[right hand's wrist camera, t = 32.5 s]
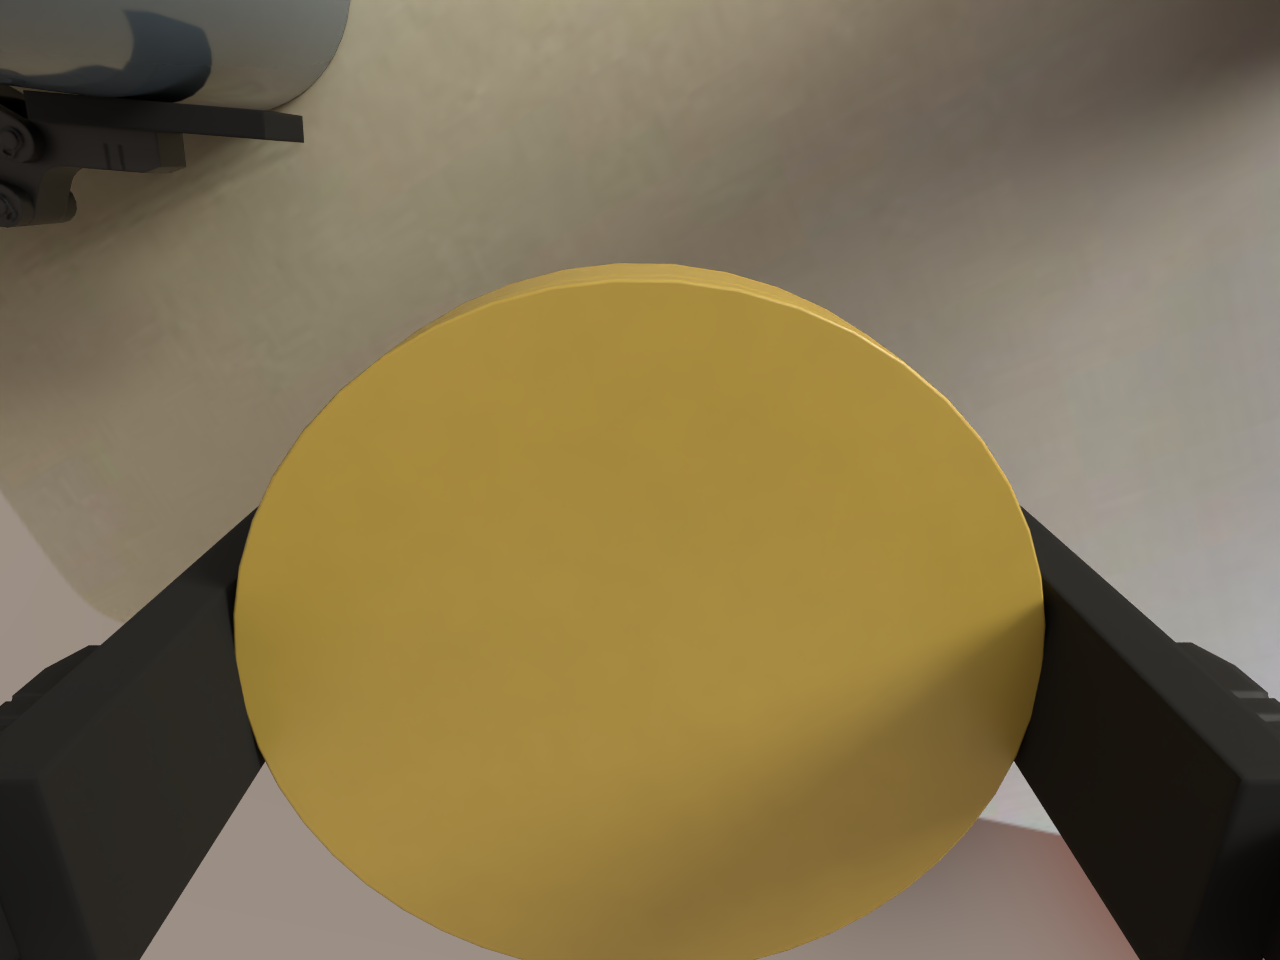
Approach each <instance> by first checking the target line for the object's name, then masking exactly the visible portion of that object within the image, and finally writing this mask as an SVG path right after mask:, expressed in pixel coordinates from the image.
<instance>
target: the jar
mask: <svg viewBox="0 0 1280 960" xmlns="http://www.w3.org/2000/svg"><path fill="white" fill-rule="evenodd" d="M349 4H350V0H0V84H2V85H10V86H18V87H25V88H33V89H41V90H48V91H56V92H64V93H71V94H79V95H87V96H97V97H110V98H122V99H134V100H146V101H158V102H170V103H182V104H194V105H206V106H218V107H230V108H243V109H255V110H269V109H273V108H275V107H278V106H280V105H282V104H285V103H287V102H289V101H290V100H292V99H294V98H295V97H297V96H298V95H300V94H302V93H303V92H304V91H305V90H306V89H307V88H309V87H310V86H311V85H312V84H313V83H314V82H315V81H316V80H317V79H318V77H319V76H320V75H321V74H322V73H323V72H324V70H325V69H326V67H327V66H328V64H329V63H330V61H331V59H332V58H333V56H334V55H335V52H336V50H337V48H338V45H339V43H340V41H341V39H342V35H343V32H344V29H345V25H346V22H347V17H348V10H349Z"/></svg>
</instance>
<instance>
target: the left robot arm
mask: <svg viewBox="0 0 1280 960" xmlns="http://www.w3.org/2000/svg"><path fill="white" fill-rule="evenodd" d="M23 92H24V94H22V93H21V92H19V91H17V90H15V89H14V88H12V87H10V86H9V85H2V84H0V226H1V227H18V226H29V225H40V224H51V223H62V222H66V221H69V220H71V219H72V218H73V217H74V216H75V213H76V210H77V206H76V200H75V198H74V196H73V194H72V193H71V192H70V188H71V182H72V179H73V177H74V175H75V174H76V172H77V171H79V170H80V169H81V168H92V169H104V170H117V171H129V172H141V173H167V172H173V171H176V170H179V169H181V168H184V167H186V162H185V154H184V145H183V136H182V133H189V134H201V135H214V136H226V137H238V138H250V139H262V140H275V141H288V142H302V143H304V136H303V121H302V116H298V115H291V114H285V113H278V112H272V111H265V110H255V109H243V108H230V107H218V106H206V105H194V104H182V103H170V102H158V101H146V100H134V99H122V98H110V97H97V96H86V95H74V94H61V93H49V92H37V91H25V90H23Z"/></svg>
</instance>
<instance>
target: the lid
mask: <svg viewBox="0 0 1280 960" xmlns="http://www.w3.org/2000/svg"><path fill="white" fill-rule="evenodd" d="M233 619H234V646H235V657H236V662H237V667H238V672H239V677H240V682H241V687H242V692H243V697H244V702H245V706H246V711H247V715H248V719H249V722H250V725H251V728H252V731H253V734H254V737H255V740H256V742H257V745H258V748H259V750H260V752H261V754H262V756H263V758H264V760H265V761H266V763H267V765H268V767H269V769H270V771H271V773H272V775H273V777H274V779H275V781H276V783H277V785H278V787H279V788H280V790H281V791H282V792H283V794H284V795H285V797H286V798H287V800H288V801H289V802H290V804H291V805H292V807H293V808H294V810H295V811H296V812H297V814H298V815H299V817H300V818H301V820H302V821H303V822H304V824H305V825H306V826H307V827H308V828H309V829H310V830H311V831H312V833H313V834H314V835H315V836H316V837H317V838H318V839H319V840H320V841H321V843H322V844H323V845H324V846H325V847H326V848H327V849H328V850H329V851H330V852H331V854H332V855H333V856H334V857H336V858H337V859H338V860H339V861H340V862H341V863H342V864H344V865H345V866H346V867H347V868H348V869H349V870H350V871H352V872H353V873H354V874H355V875H356V876H357V877H358V878H360V879H361V880H362V881H363V882H364V883H365V884H367V885H368V886H369V887H371V888H372V889H374V890H375V891H377V892H378V893H380V894H381V895H382V896H384V897H385V898H387V899H388V900H390V901H391V902H393V903H394V904H395V905H397V906H398V907H400V908H401V909H403V910H405V911H406V912H408V913H410V914H412V915H414V916H416V917H417V918H419V919H421V920H423V921H425V922H427V923H428V924H430V925H432V926H434V927H436V928H438V929H440V930H441V931H444V932H446V933H449V934H451V935H453V936H456V937H458V938H461V939H463V940H465V941H468V942H470V943H473V944H475V945H477V946H480V947H482V948H485V949H489V950H492V951H495V952H499V953H502V954H505V955H509V956H512V957H515V958H519V959H522V960H756V959H759V958H763V957H766V956H770V955H773V954H777V953H780V952H784V951H787V950H790V949H793V948H795V947H798V946H800V945H803V944H805V943H808V942H810V941H813V940H815V939H818V938H821V937H823V936H825V935H828V934H830V933H832V932H834V931H836V930H838V929H840V928H842V927H844V926H846V925H848V924H850V923H852V922H854V921H855V920H857V919H859V918H861V917H863V916H865V915H867V914H869V913H870V912H872V911H873V910H875V909H876V908H878V907H879V906H881V905H882V904H884V903H886V902H887V901H889V900H890V899H892V898H893V897H895V896H896V895H898V894H899V893H901V892H902V891H904V890H905V889H906V888H908V887H909V886H910V885H911V884H912V883H914V882H915V881H916V880H917V879H918V878H920V877H921V876H922V875H923V874H924V873H926V872H927V871H928V870H929V869H930V868H932V867H933V866H934V865H935V864H936V863H938V862H939V861H940V860H941V859H942V858H943V857H944V856H945V854H946V853H947V852H948V851H949V850H950V849H951V848H952V847H953V846H954V845H955V844H956V843H957V842H958V841H959V840H960V839H961V838H962V837H963V836H964V834H965V833H966V832H967V831H968V830H969V829H970V828H971V826H972V825H973V824H974V822H975V821H976V820H977V818H978V817H979V816H980V814H981V813H982V811H983V810H984V809H985V807H986V806H987V805H988V803H989V802H990V801H991V799H992V798H993V797H994V795H995V794H996V792H997V790H998V788H999V786H1000V785H1001V783H1002V781H1003V779H1004V777H1005V776H1006V774H1007V772H1008V770H1009V768H1010V767H1011V765H1012V763H1013V761H1014V759H1015V757H1016V756H1017V753H1018V750H1019V748H1020V745H1021V743H1022V740H1023V737H1024V735H1025V732H1026V730H1027V727H1028V724H1029V722H1030V719H1031V715H1032V710H1033V705H1034V701H1035V696H1036V691H1037V686H1038V682H1039V677H1040V672H1041V667H1042V661H1043V652H1044V638H1045V614H1044V602H1043V590H1042V578H1041V573H1040V569H1039V565H1038V561H1037V557H1036V553H1035V549H1034V545H1033V541H1032V537H1031V533H1030V529H1029V527H1028V525H1027V522H1026V520H1025V518H1024V515H1023V513H1022V510H1021V508H1020V506H1019V503H1018V501H1017V499H1016V496H1015V494H1014V492H1013V489H1012V487H1011V484H1010V483H1009V481H1008V479H1007V478H1006V476H1005V475H1004V473H1003V471H1002V470H1001V468H1000V467H999V465H998V463H997V462H996V460H995V459H994V457H993V455H992V454H991V452H990V451H989V449H988V447H987V446H986V444H985V443H984V441H983V440H982V438H981V437H980V436H979V435H978V434H977V433H976V431H975V430H974V429H973V428H972V427H971V426H970V424H969V423H968V422H967V421H966V420H965V419H964V417H963V416H962V415H961V414H960V413H959V412H958V411H957V409H956V408H955V407H954V406H953V405H952V404H951V402H950V401H949V400H948V399H947V398H946V397H945V396H944V395H942V394H941V393H940V392H939V391H938V390H937V389H935V388H934V387H933V386H932V385H931V384H930V383H928V382H927V381H926V380H925V379H924V378H923V377H921V376H920V375H919V374H918V373H917V372H916V371H914V370H913V369H912V368H911V367H910V366H909V365H907V364H906V363H905V362H904V361H902V360H901V359H900V358H898V357H897V356H895V355H894V354H893V353H891V352H890V351H889V350H887V349H886V348H885V347H883V346H882V345H880V344H879V343H878V342H876V341H875V340H873V339H872V338H871V337H869V336H868V335H866V334H865V333H863V332H862V331H860V330H858V329H857V328H855V327H854V326H852V325H850V324H849V323H847V322H846V321H844V320H843V319H841V318H839V317H838V316H836V315H835V314H833V313H832V312H830V311H828V310H827V309H825V308H823V307H821V306H818V305H816V304H814V303H812V302H809V301H807V300H805V299H803V298H801V297H798V296H796V295H794V294H792V293H790V292H787V291H785V290H783V289H781V288H778V287H775V286H772V285H769V284H765V283H762V282H758V281H755V280H752V279H748V278H745V277H741V276H738V275H735V274H731V273H728V272H722V271H716V270H709V269H702V268H696V267H689V266H683V265H676V264H639V263H615V264H607V265H599V266H591V267H582V268H574V269H566V270H561V271H557V272H553V273H550V274H546V275H542V276H538V277H534V278H530V279H527V280H523V281H519V282H515V283H512V284H509V285H507V286H504V287H502V288H499V289H497V290H495V291H492V292H490V293H487V294H485V295H483V296H480V297H478V298H475V299H473V300H471V301H468V302H466V303H463V304H462V305H460V306H458V307H456V308H455V309H453V310H451V311H450V312H448V313H446V314H445V315H443V316H441V317H440V318H438V319H436V320H434V321H433V322H431V323H429V324H428V325H426V326H424V327H423V328H421V329H419V330H418V331H416V332H415V333H414V334H412V335H411V336H410V337H408V338H407V339H405V340H404V341H403V342H401V343H400V344H399V345H397V346H396V347H394V348H393V349H392V350H390V351H389V352H388V353H386V354H385V355H383V356H382V357H381V358H380V359H379V360H377V361H376V362H375V363H374V364H372V365H371V366H370V367H369V368H367V369H366V370H365V371H364V372H362V373H361V374H360V375H359V376H357V377H356V378H355V379H354V380H352V381H351V382H350V383H349V384H347V385H346V386H345V387H344V388H342V389H341V390H340V391H339V392H338V393H337V394H336V395H335V396H334V398H333V399H332V400H331V401H330V402H329V403H328V404H327V405H326V406H325V407H324V408H323V409H322V411H321V412H320V413H319V414H318V415H317V416H316V417H315V418H314V419H313V420H312V421H311V422H310V424H309V425H308V426H307V427H306V428H305V429H304V430H303V431H302V433H301V434H300V436H299V437H298V439H297V440H296V442H295V443H294V445H293V446H292V448H291V449H290V451H289V452H288V454H287V455H286V457H285V458H284V460H283V461H282V463H281V464H280V466H279V467H278V469H277V470H276V472H275V473H274V475H273V477H272V479H271V481H270V483H269V485H268V487H267V490H266V492H265V494H264V496H263V498H262V500H261V503H260V505H259V507H258V509H257V511H256V513H255V515H254V518H253V520H252V523H251V527H250V530H249V534H248V537H247V541H246V544H245V548H244V551H243V555H242V558H241V562H240V565H239V571H238V580H237V588H236V597H235V605H234V613H233Z"/></svg>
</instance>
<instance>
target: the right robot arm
mask: <svg viewBox="0 0 1280 960" xmlns="http://www.w3.org/2000/svg"><path fill="white" fill-rule="evenodd" d="M1019 506H1020V505H1019ZM258 507H259V506H258ZM258 507H257V508H256V509H255V510H253V511H252V512H251V513H250V514H249V515H248V516H247V517H246V518H244V519H243V520H242V521H241V522H240V523H239V524H238V525H236V526H235V527H234V528H233V529H232V530H231V531H230V532H229V533H227V534H226V535H225V536H224V537H223V538H222V539H221V540H219V541H218V542H217V543H216V544H215V545H214V546H213V547H212V548H210V549H209V550H208V551H207V552H206V553H205V554H204V555H202V556H201V557H200V558H199V559H198V560H197V561H196V562H195V563H193V564H192V565H191V566H190V567H189V568H188V569H187V570H185V571H184V572H183V573H182V574H181V575H180V576H179V577H177V578H176V579H175V580H174V581H173V582H172V583H171V584H170V585H168V586H167V587H166V588H165V589H164V590H163V591H162V592H160V593H159V594H158V595H157V596H156V597H155V598H154V599H153V600H151V601H150V602H149V603H148V604H147V605H146V606H145V607H143V608H142V609H141V610H140V611H139V612H138V613H137V614H136V615H134V616H133V617H132V618H131V619H130V620H129V621H128V622H126V623H125V624H124V625H123V626H122V627H121V628H120V629H119V630H117V631H116V632H115V633H114V634H113V635H112V636H111V637H109V638H108V639H107V640H106V641H105V642H104V643H103V644H102V645H89V646H87V647H85V648H83V649H81V650H79V651H77V652H75V653H74V654H72V655H70V656H68V657H66V658H64V659H62V660H60V661H58V662H57V663H55V664H53V665H51V666H49V667H47V668H45V669H44V670H43V671H42V672H40V673H39V674H38V675H37V676H36V677H34V678H33V679H32V680H31V681H30V682H28V683H27V684H26V685H25V686H24V687H22V688H21V689H20V690H19V691H18V692H17V693H15V694H14V695H13V696H12V701H7V702H5V703H3V704H2V705H1V706H0V960H140V958H141V957H142V955H143V954H144V952H145V950H146V949H147V947H148V946H149V944H150V943H151V941H152V939H153V938H154V936H155V935H156V933H157V931H158V930H159V928H160V927H161V925H162V923H163V922H164V920H165V919H166V917H167V916H168V914H169V912H170V911H171V909H172V908H173V906H174V905H175V903H176V901H177V900H178V898H179V897H180V895H181V894H182V892H183V890H184V889H185V887H186V886H187V884H188V882H189V881H190V879H191V878H192V876H193V875H194V873H195V871H196V870H197V868H198V867H199V865H200V863H201V862H202V860H203V859H204V857H205V856H206V854H207V852H208V851H209V849H210V848H211V846H212V844H213V843H214V841H215V840H216V838H217V837H218V835H219V833H220V832H221V830H222V829H223V827H224V826H225V824H226V822H227V821H228V819H229V818H230V816H231V814H232V813H233V811H234V810H235V808H236V807H237V805H238V803H239V802H240V800H241V799H242V797H243V796H244V794H245V792H246V791H247V789H248V788H249V786H250V785H251V783H252V781H253V780H254V778H255V777H256V775H257V773H258V772H259V770H260V769H261V767H262V766H263V764H264V762H265V760H264V758H263V756H262V754H261V752H260V750H259V748H258V745H257V742H256V740H255V737H254V734H253V731H252V728H251V725H250V722H249V719H248V715H247V711H246V706H245V702H244V697H243V692H242V687H241V682H240V677H239V672H238V667H237V662H236V657H235V646H234V619H233V613H234V605H235V597H236V588H237V580H238V571H239V565H240V562H241V558H242V555H243V551H244V548H245V544H246V541H247V537H248V534H249V530H250V527H251V523H252V520H253V518H254V515H255V513H256V511H257V509H258ZM1020 508H1021V510H1022V513H1023V515H1024V518H1025V520H1026V522H1027V525H1028V527H1029V529H1030V533H1031V537H1032V541H1033V545H1034V549H1035V553H1036V557H1037V561H1038V565H1039V569H1040V573H1041V578H1042V590H1043V602H1044V614H1045V638H1044V652H1043V661H1042V667H1041V672H1040V677H1039V682H1038V686H1037V691H1036V696H1035V701H1034V705H1033V710H1032V715H1031V719H1030V722H1029V724H1028V727H1027V730H1026V732H1025V735H1024V737H1023V740H1022V743H1021V745H1020V748H1019V750H1018V753H1017V756H1016V757H1015V759H1014V762H1015V763H1016V765H1017V766H1018V768H1019V770H1020V771H1021V773H1022V774H1023V776H1024V777H1025V779H1026V781H1027V782H1028V784H1029V785H1030V787H1031V789H1032V790H1033V792H1034V793H1035V795H1036V796H1037V798H1038V800H1039V801H1040V803H1041V804H1042V806H1043V807H1044V809H1045V811H1046V812H1047V814H1048V815H1049V817H1050V819H1051V820H1052V822H1053V823H1054V825H1055V826H1056V828H1057V830H1058V831H1059V833H1060V834H1061V836H1062V838H1063V839H1064V841H1065V842H1066V844H1067V845H1068V847H1069V849H1070V850H1071V852H1072V853H1073V855H1074V856H1075V858H1076V860H1077V861H1078V863H1079V864H1080V866H1081V867H1082V869H1083V871H1084V872H1085V874H1086V875H1087V877H1088V879H1089V880H1090V882H1091V883H1092V885H1093V886H1094V888H1095V890H1096V891H1097V893H1098V894H1099V896H1100V898H1101V899H1102V901H1103V902H1104V904H1105V905H1106V907H1107V909H1108V910H1109V912H1110V913H1111V915H1112V917H1113V918H1114V920H1115V921H1116V923H1117V924H1118V926H1119V928H1120V929H1121V931H1122V932H1123V934H1124V935H1125V937H1126V939H1127V940H1128V942H1129V943H1130V945H1131V946H1132V948H1133V950H1134V951H1135V953H1136V954H1137V956H1138V958H1139V959H1140V960H1262V959H1263V958H1264V959H1265V960H1280V702H1278V701H1277V700H1276V699H1275V698H1269V697H1268V692H1266V691H1265V690H1264V689H1263V688H1262V687H1260V686H1259V685H1258V684H1257V683H1255V682H1254V681H1253V680H1252V679H1251V678H1249V677H1248V676H1247V675H1246V674H1245V673H1243V672H1242V671H1241V670H1240V669H1239V668H1237V667H1236V666H1235V665H1233V664H1231V663H1229V662H1227V661H1225V660H1224V659H1222V658H1220V657H1218V656H1216V655H1214V654H1212V653H1210V652H1208V651H1206V650H1205V649H1203V648H1201V647H1199V646H1197V645H1195V644H1193V643H1176V642H1175V641H1173V640H1172V639H1171V638H1170V637H1169V636H1168V635H1167V634H1165V633H1164V632H1163V631H1162V630H1161V629H1160V628H1159V627H1157V626H1156V625H1155V624H1154V623H1153V622H1152V621H1151V620H1150V619H1148V618H1147V617H1146V616H1145V615H1144V614H1143V613H1142V612H1140V611H1139V610H1138V609H1137V608H1136V607H1135V606H1134V605H1133V604H1131V603H1130V602H1129V601H1128V600H1127V599H1126V598H1125V597H1123V596H1122V595H1121V594H1120V593H1119V592H1118V591H1117V590H1116V589H1114V588H1113V587H1112V586H1111V585H1110V584H1109V583H1108V582H1106V581H1105V580H1104V579H1103V578H1102V577H1101V576H1100V575H1099V574H1097V573H1096V572H1095V571H1094V570H1093V569H1092V568H1091V567H1089V566H1088V565H1087V564H1086V563H1085V562H1084V561H1083V560H1082V559H1080V558H1079V557H1078V556H1077V555H1076V554H1075V553H1074V552H1072V551H1071V550H1070V549H1069V548H1068V547H1067V546H1066V545H1065V544H1063V543H1062V542H1061V541H1060V540H1059V539H1058V538H1057V537H1055V536H1054V535H1053V534H1052V533H1051V532H1050V531H1049V530H1048V529H1046V528H1045V527H1044V526H1043V525H1042V524H1041V523H1040V522H1038V521H1037V520H1036V519H1035V518H1034V517H1033V516H1032V515H1030V514H1029V513H1028V512H1027V511H1026V510H1025V509H1024V508H1023V507H1021V506H1020Z"/></svg>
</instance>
